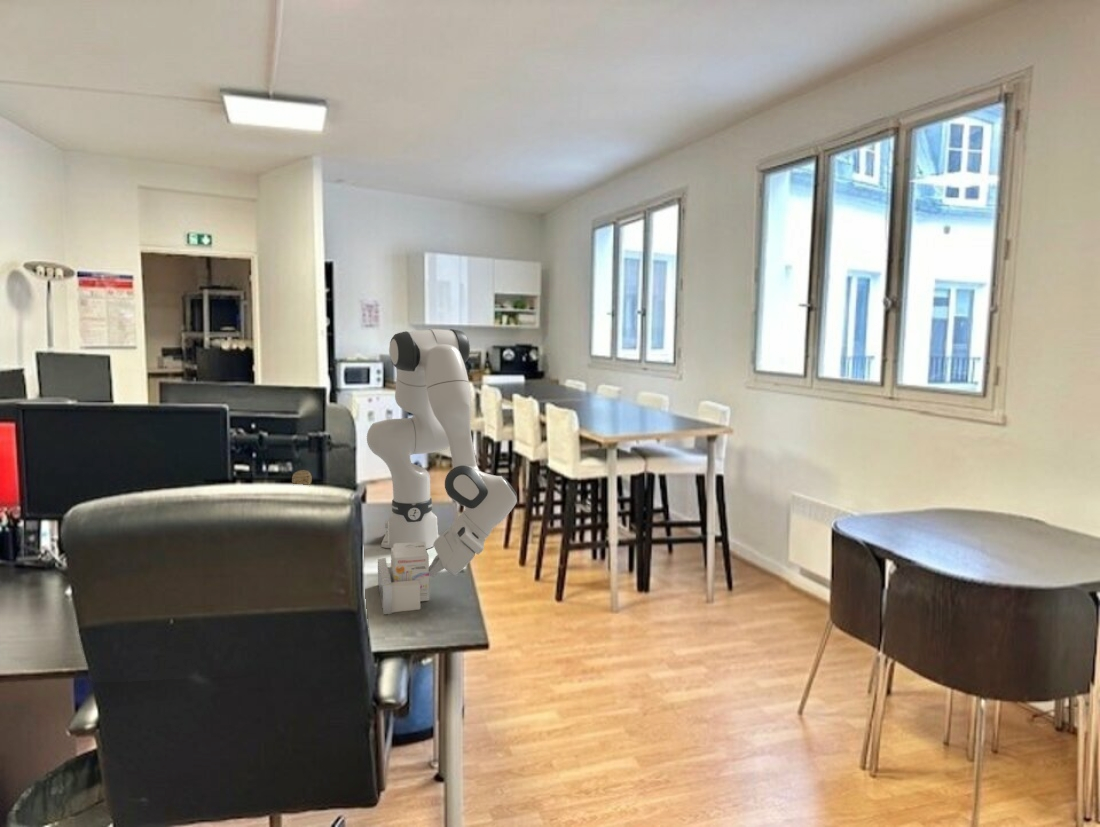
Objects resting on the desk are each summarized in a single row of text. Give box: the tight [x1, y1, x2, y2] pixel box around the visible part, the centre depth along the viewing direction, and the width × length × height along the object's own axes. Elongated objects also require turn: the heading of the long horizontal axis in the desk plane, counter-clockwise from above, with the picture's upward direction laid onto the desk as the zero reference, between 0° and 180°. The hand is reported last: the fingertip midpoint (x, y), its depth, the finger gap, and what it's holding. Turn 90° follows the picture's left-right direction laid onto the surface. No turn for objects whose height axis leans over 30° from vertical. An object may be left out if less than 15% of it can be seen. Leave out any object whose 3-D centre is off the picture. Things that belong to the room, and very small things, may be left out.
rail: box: [377, 557, 393, 615], centre depth 178 cm, size 20×2×7 cm, turn 17°
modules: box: [386, 562, 421, 613], centre depth 179 cm, size 18×7×6 cm, turn 17°
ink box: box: [390, 542, 430, 602], centre depth 179 cm, size 9×8×13 cm
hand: (429, 573), depth 180 cm, fingers closed, pressing on ink box
